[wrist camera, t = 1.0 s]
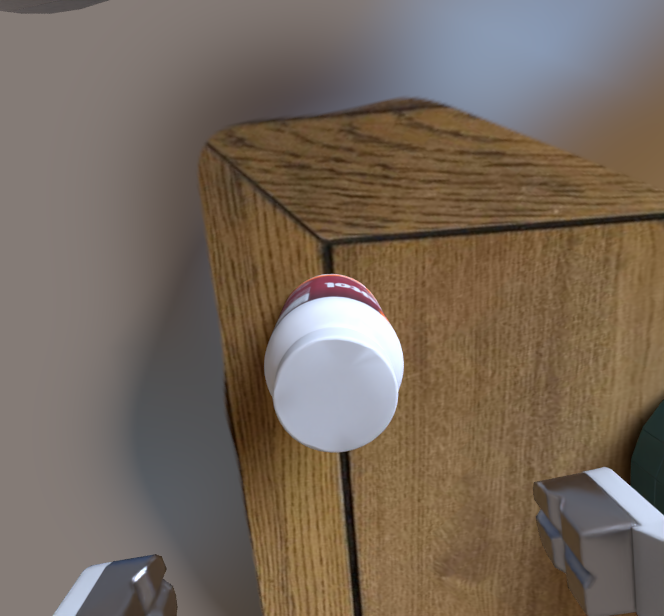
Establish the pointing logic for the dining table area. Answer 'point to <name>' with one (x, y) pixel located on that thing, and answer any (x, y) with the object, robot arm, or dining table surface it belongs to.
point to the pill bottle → (333, 365)
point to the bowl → (650, 461)
